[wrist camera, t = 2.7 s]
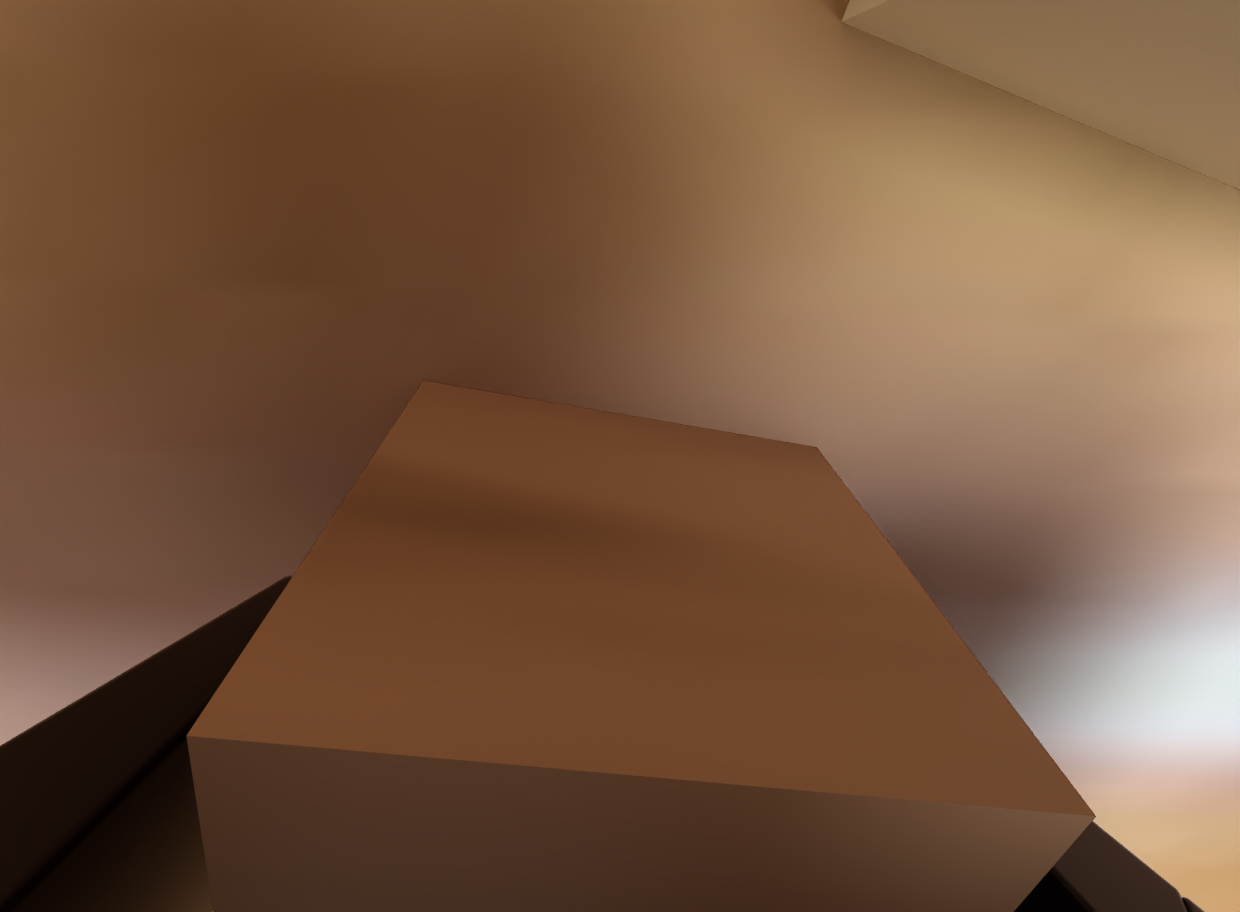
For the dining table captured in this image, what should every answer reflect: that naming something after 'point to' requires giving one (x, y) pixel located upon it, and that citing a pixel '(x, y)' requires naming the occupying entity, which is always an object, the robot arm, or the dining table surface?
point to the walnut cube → (613, 692)
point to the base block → (1093, 64)
